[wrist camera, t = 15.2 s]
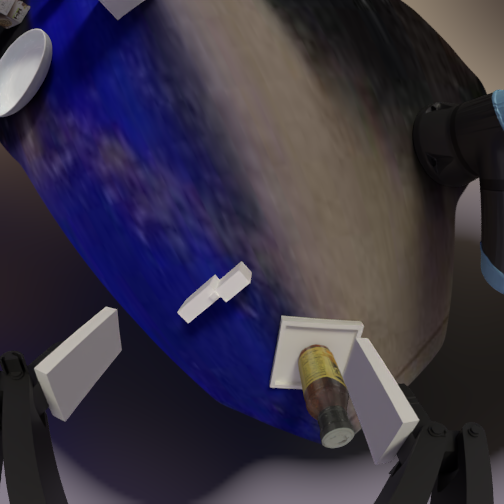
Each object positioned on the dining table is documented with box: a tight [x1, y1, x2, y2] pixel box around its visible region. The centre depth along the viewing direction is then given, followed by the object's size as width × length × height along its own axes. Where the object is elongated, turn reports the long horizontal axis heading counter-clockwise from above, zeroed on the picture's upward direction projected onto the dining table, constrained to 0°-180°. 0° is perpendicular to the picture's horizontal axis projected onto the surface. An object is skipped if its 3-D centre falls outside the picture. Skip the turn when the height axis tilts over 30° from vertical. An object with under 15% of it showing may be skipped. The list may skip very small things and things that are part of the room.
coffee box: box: [0, 0, 30, 29], centre depth 22 cm, size 9×6×16 cm
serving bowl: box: [0, 29, 52, 117], centre depth 32 cm, size 21×21×7 cm
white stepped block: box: [177, 261, 252, 323], centre depth 41 cm, size 15×11×6 cm
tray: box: [270, 316, 364, 389], centre depth 45 cm, size 14×14×2 cm
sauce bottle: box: [298, 344, 354, 448], centre depth 35 cm, size 7×6×20 cm
